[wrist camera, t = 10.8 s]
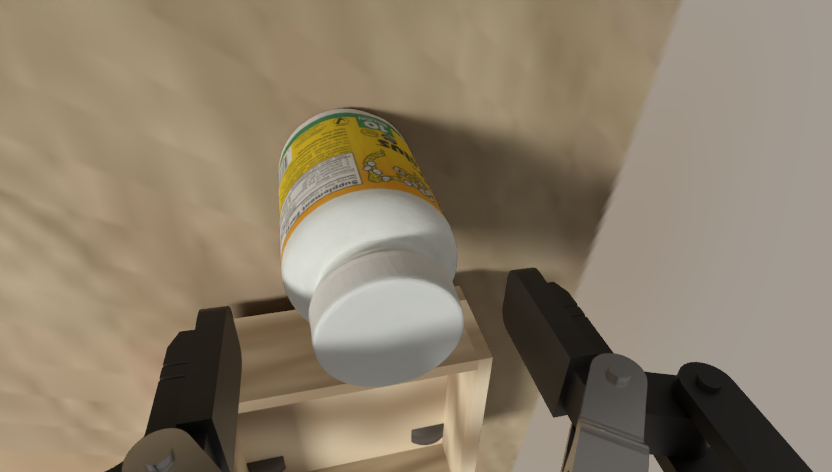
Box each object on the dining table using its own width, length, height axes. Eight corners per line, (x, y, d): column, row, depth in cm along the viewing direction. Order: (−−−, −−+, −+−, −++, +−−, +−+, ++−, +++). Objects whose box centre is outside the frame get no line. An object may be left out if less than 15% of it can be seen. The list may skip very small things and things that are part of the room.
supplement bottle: (250, 150, 19) (233, 329, 11) (369, 77, 18) (438, 213, 11) (327, 242, 22) (355, 429, 14) (430, 183, 21) (516, 344, 14)
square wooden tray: (196, 302, 22) (176, 414, 17) (451, 267, 24) (493, 357, 20) (245, 451, 29) (240, 559, 24) (440, 413, 31) (469, 504, 27)
